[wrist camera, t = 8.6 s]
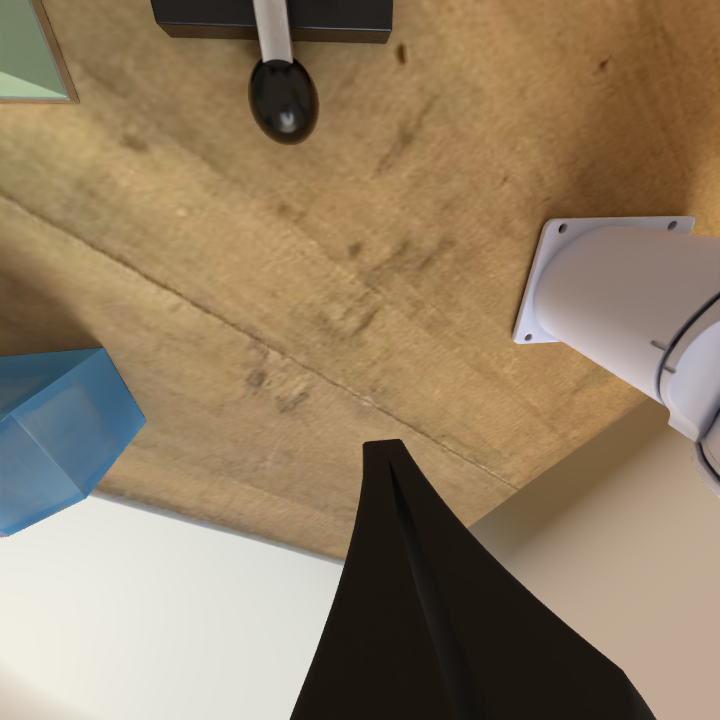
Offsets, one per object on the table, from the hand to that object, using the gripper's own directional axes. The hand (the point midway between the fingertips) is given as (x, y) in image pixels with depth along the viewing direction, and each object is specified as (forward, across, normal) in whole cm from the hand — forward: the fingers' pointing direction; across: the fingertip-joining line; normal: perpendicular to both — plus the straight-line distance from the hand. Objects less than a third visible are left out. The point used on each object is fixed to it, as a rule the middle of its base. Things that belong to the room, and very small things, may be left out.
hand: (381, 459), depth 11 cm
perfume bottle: (+11, +19, +3) cm, 22 cm away
